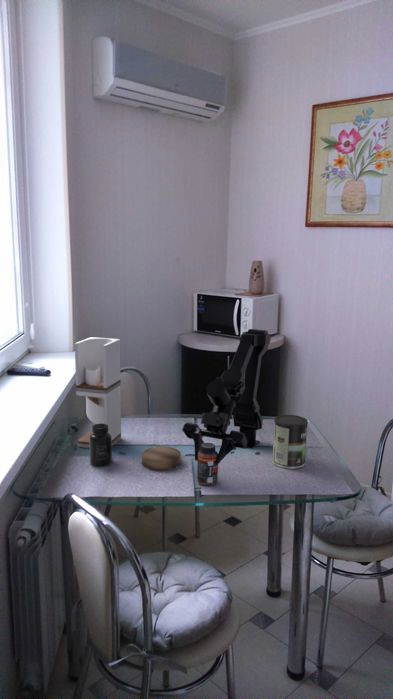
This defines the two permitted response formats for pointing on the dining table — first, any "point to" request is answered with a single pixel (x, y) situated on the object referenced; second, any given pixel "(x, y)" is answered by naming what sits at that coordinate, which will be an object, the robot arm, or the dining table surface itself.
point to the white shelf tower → (100, 383)
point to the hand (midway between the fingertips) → (205, 462)
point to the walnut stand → (161, 458)
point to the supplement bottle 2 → (207, 465)
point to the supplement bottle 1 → (100, 445)
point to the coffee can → (289, 441)
